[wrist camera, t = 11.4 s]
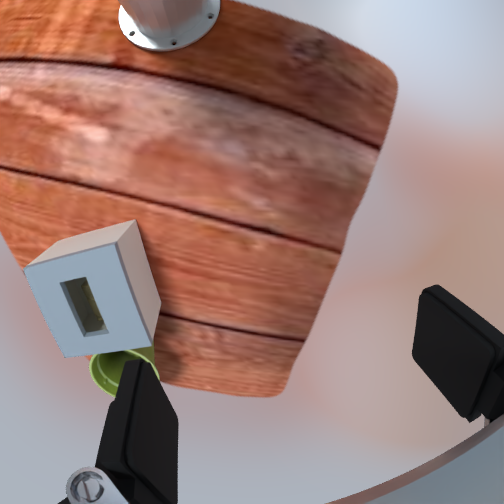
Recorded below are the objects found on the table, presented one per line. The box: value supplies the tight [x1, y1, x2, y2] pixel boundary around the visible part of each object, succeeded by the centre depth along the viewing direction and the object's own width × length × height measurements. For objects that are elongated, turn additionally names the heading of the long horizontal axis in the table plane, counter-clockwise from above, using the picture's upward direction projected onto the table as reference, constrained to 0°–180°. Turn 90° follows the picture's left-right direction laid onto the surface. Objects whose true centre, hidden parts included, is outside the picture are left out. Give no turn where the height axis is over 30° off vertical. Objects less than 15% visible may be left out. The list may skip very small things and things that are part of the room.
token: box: [81, 279, 103, 321], centre depth 36 cm, size 5×2×5 cm, turn 14°
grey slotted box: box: [23, 219, 161, 358], centre depth 34 cm, size 12×12×10 cm
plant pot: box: [89, 340, 160, 397], centre depth 39 cm, size 9×9×9 cm
